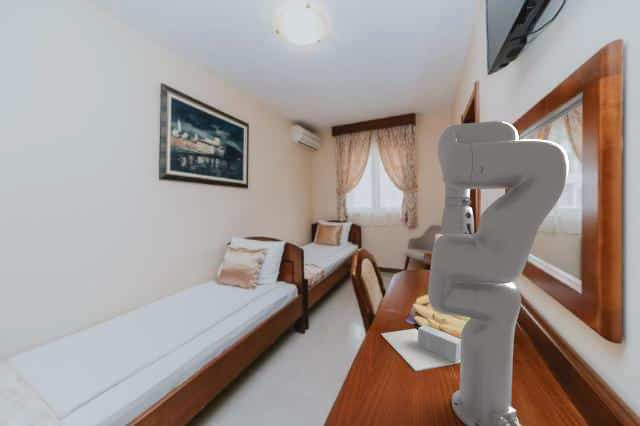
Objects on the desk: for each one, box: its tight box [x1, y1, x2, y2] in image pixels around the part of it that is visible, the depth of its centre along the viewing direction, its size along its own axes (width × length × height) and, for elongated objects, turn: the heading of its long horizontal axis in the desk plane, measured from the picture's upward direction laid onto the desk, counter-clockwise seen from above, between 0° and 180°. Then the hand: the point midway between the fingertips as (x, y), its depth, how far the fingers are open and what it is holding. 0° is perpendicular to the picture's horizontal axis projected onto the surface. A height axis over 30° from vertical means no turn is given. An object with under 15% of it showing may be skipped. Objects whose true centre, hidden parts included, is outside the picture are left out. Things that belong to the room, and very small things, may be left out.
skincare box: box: [417, 325, 461, 363], centre depth 77 cm, size 6×4×12 cm
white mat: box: [380, 328, 461, 372], centre depth 81 cm, size 20×16×1 cm
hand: (455, 255), depth 85 cm, fingers closed
